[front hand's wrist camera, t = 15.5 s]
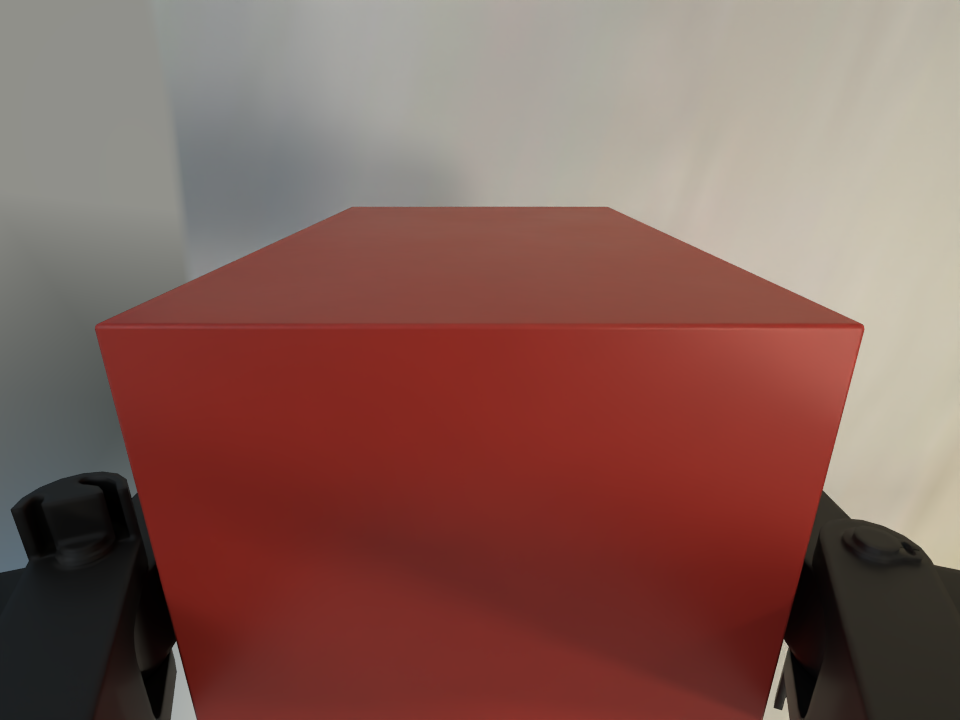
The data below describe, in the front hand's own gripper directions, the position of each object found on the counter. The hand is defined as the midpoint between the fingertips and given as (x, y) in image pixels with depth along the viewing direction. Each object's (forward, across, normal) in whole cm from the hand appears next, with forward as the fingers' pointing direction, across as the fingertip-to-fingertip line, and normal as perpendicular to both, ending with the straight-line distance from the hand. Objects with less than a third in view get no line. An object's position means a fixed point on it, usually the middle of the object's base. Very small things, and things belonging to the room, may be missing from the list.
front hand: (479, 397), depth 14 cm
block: (+4, 0, 0) cm, 4 cm away
